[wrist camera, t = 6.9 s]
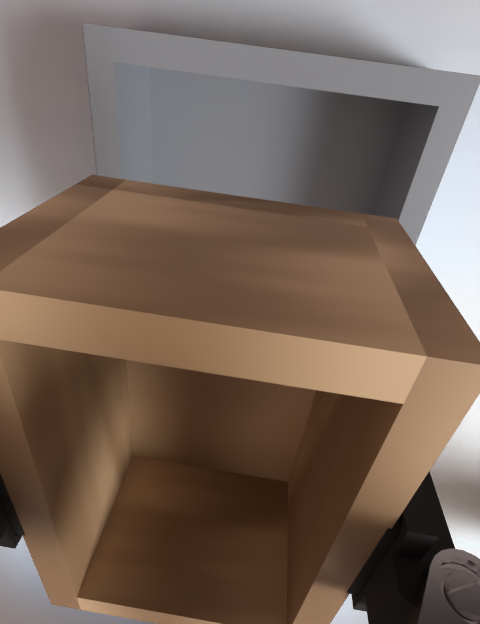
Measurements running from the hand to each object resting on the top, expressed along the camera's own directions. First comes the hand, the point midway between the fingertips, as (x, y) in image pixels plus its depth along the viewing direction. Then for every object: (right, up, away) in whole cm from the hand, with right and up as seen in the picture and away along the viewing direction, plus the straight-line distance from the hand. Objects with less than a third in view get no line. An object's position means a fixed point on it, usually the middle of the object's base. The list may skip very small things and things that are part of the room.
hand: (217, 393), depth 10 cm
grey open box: (+2, +9, +14) cm, 17 cm away
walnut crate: (0, +1, +1) cm, 1 cm away
